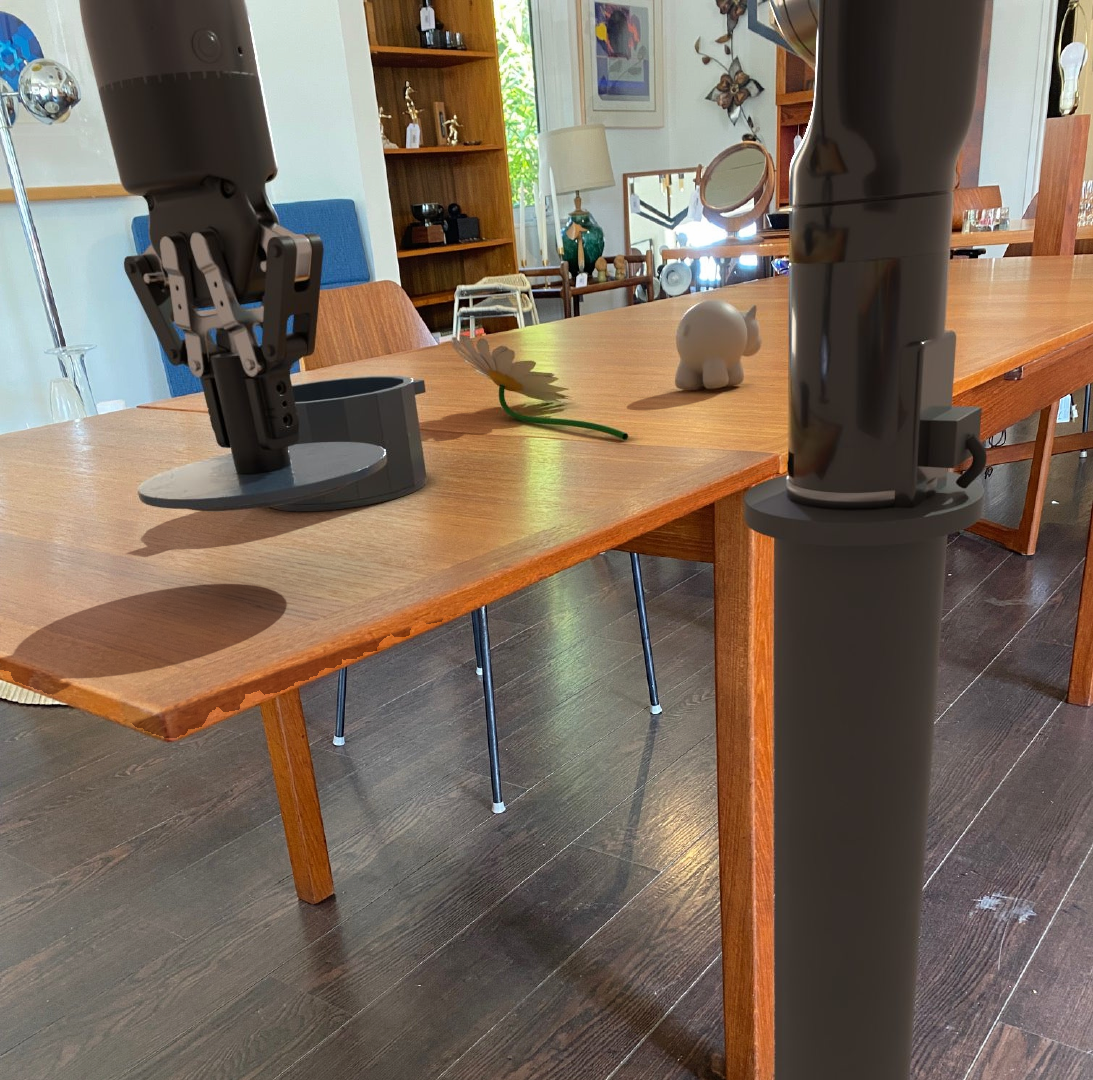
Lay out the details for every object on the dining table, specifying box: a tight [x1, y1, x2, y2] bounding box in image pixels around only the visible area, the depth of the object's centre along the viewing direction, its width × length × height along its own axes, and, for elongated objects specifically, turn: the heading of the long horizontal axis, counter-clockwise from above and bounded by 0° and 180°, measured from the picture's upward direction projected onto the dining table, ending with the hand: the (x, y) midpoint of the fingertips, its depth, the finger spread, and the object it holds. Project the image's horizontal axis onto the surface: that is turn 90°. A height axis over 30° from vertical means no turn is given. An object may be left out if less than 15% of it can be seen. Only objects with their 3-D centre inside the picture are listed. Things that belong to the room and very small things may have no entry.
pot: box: [268, 375, 428, 512], centre depth 80 cm, size 12×18×8 cm
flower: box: [451, 334, 629, 441], centre depth 101 cm, size 13×6×30 cm
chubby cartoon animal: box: [674, 299, 763, 391], centre depth 110 cm, size 7×12×8 cm, turn 134°
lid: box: [137, 351, 387, 512], centre depth 57 cm, size 13×13×7 cm
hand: (258, 444), depth 58 cm, fingers closed on lid, 3 cm apart
